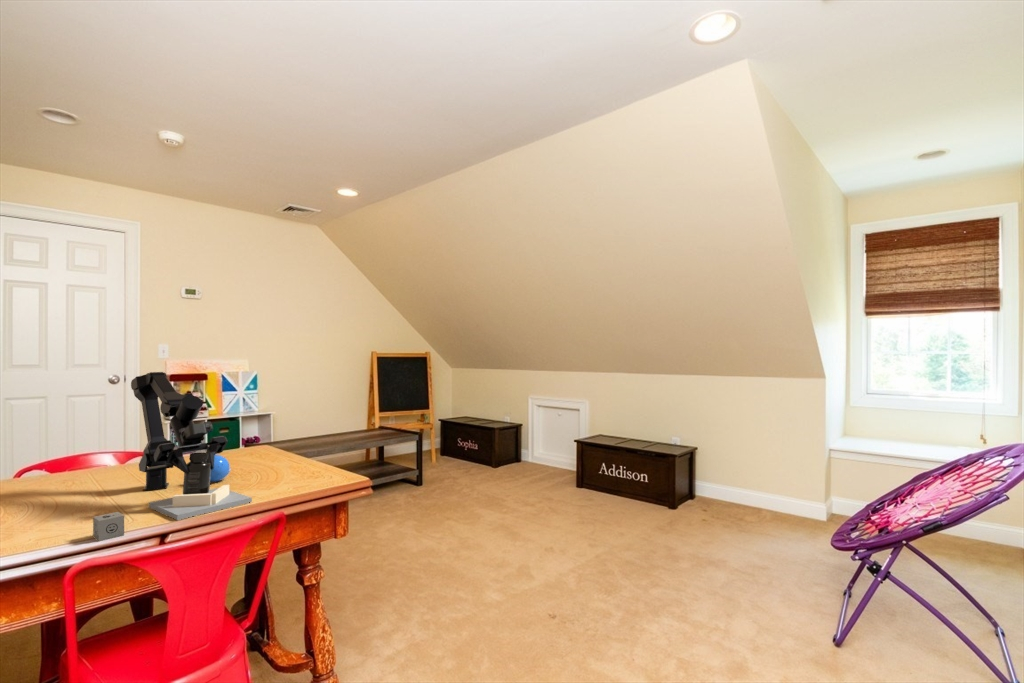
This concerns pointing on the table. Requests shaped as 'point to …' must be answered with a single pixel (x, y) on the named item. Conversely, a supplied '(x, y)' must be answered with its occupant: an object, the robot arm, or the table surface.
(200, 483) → the supplement bottle
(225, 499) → the v cradle
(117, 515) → the dice cube
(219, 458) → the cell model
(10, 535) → the table surface
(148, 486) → the robot arm
